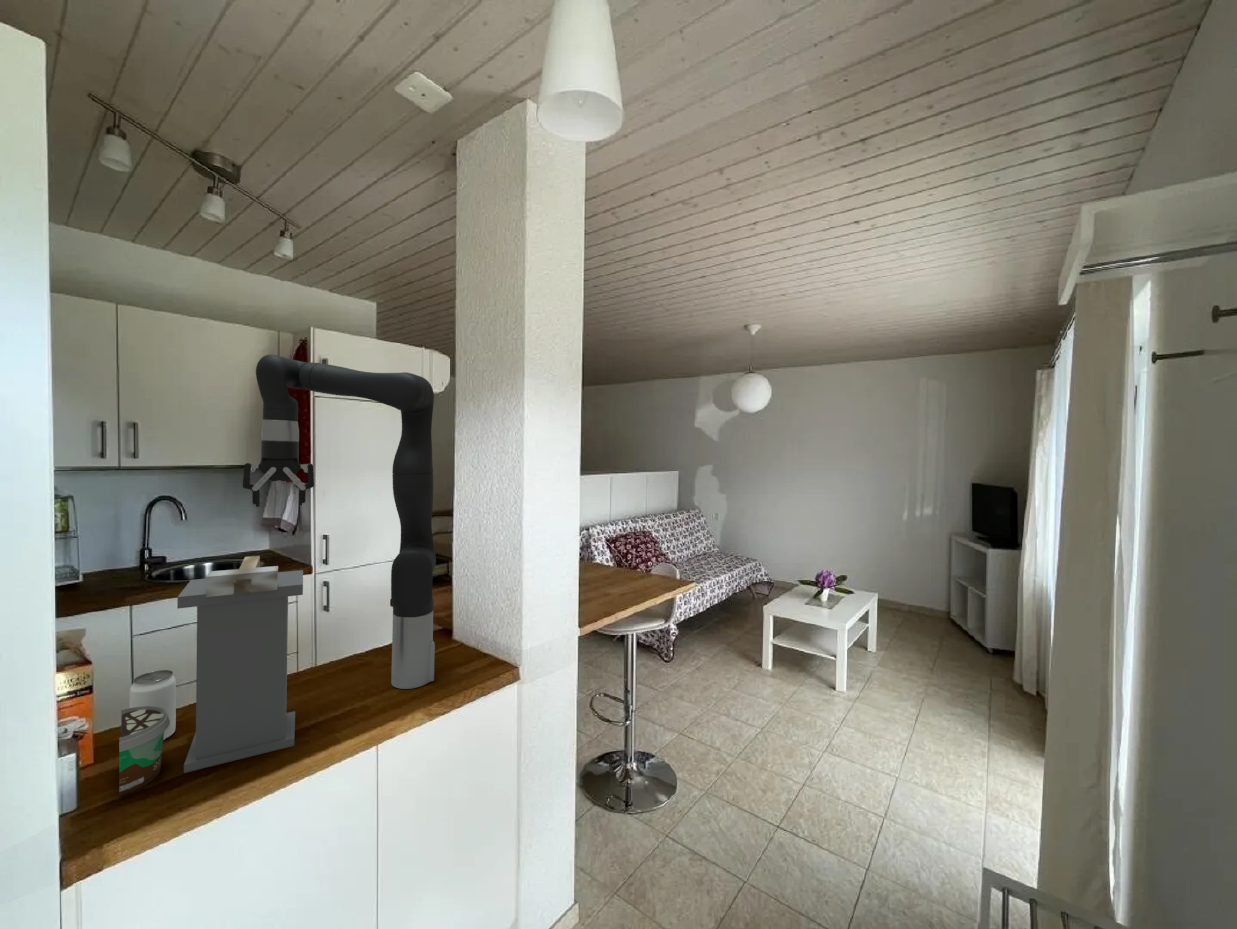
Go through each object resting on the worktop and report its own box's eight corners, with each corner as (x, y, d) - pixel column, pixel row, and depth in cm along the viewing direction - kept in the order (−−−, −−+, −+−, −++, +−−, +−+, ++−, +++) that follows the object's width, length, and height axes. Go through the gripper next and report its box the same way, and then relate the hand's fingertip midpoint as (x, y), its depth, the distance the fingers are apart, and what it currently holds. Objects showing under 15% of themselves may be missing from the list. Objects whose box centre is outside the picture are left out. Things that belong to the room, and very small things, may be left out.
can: (147, 750, 91) (147, 686, 91) (120, 744, 92) (120, 681, 92) (184, 730, 97) (184, 671, 97) (158, 726, 99) (158, 667, 98)
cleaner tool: (281, 565, 106) (281, 549, 106) (277, 589, 90) (277, 570, 90) (222, 570, 101) (222, 553, 101) (206, 597, 84) (206, 576, 84)
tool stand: (300, 714, 104) (303, 570, 104) (300, 744, 94) (302, 584, 93) (189, 739, 95) (191, 579, 94) (176, 775, 85) (177, 597, 84)
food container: (171, 784, 83) (171, 725, 82) (118, 801, 78) (119, 739, 78) (168, 750, 91) (168, 697, 91) (120, 764, 87) (121, 708, 87)
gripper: (314, 440, 126) (313, 503, 127) (245, 438, 119) (244, 505, 119) (315, 440, 120) (314, 506, 121) (242, 438, 112) (241, 508, 113)
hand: (279, 505), depth 120 cm, fingers open, 8 cm apart
